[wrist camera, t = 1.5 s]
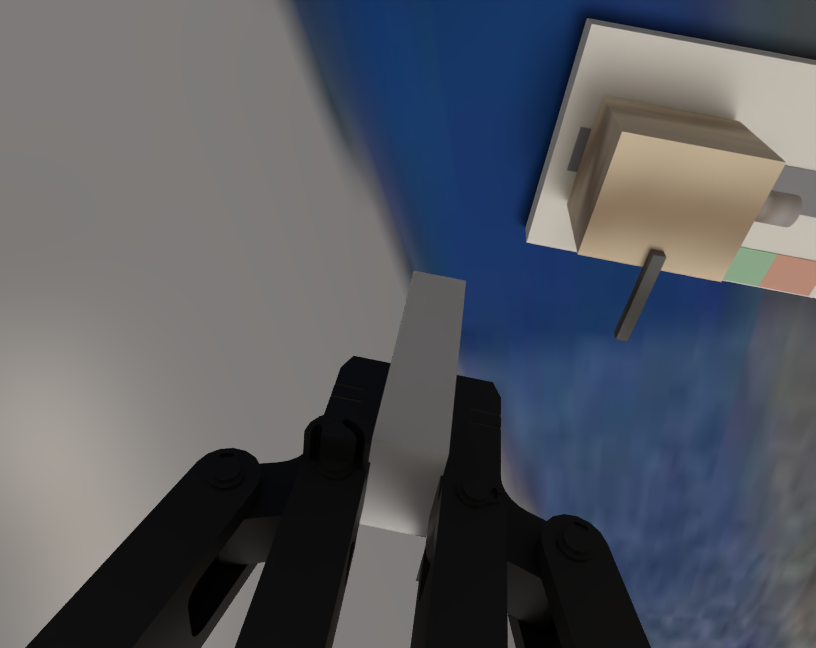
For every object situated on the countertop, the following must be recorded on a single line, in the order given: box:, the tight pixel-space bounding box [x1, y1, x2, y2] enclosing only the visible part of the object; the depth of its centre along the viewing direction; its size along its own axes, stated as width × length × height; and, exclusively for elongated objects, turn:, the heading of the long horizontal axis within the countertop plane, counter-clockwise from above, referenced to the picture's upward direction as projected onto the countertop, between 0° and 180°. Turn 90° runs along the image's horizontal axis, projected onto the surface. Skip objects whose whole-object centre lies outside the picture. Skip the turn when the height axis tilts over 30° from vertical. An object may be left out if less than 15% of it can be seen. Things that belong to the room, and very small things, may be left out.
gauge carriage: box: [567, 96, 802, 341], centre depth 30 cm, size 10×10×7 cm
